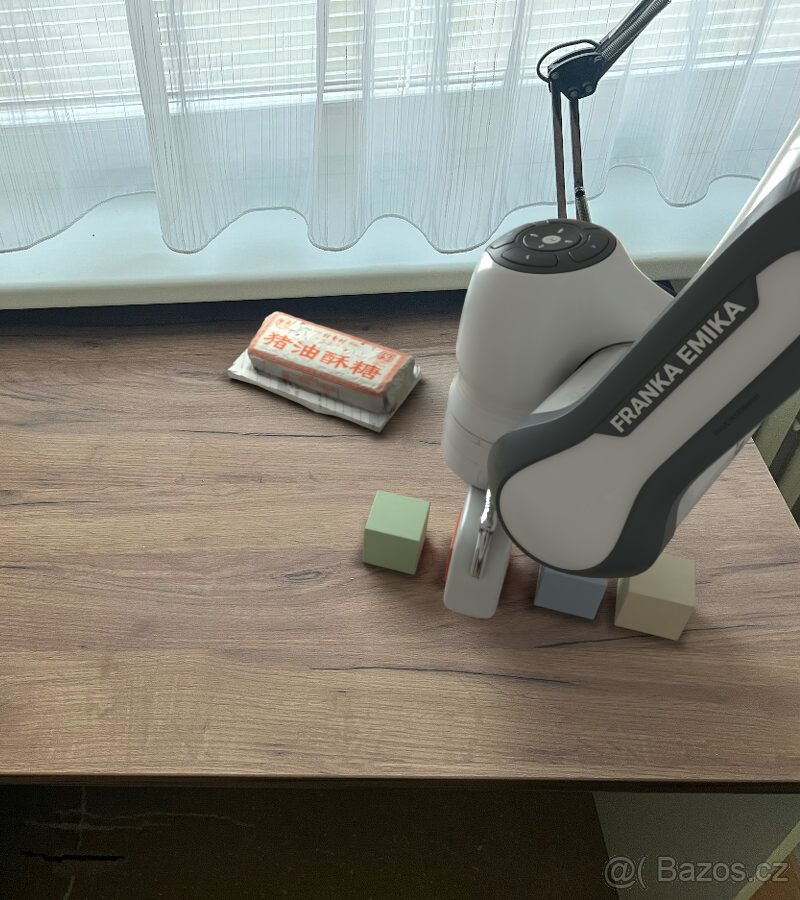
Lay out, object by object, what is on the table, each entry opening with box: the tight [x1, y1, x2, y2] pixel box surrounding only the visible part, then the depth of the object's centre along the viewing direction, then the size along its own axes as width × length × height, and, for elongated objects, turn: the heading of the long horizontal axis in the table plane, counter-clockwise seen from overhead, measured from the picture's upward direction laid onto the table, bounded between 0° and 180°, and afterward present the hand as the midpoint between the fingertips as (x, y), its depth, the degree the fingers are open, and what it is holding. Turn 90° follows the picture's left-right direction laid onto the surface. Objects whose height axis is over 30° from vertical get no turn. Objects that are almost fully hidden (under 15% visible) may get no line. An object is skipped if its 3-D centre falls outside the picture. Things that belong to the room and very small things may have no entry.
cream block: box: [613, 552, 697, 641], centre depth 67 cm, size 4×4×4 cm
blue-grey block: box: [533, 564, 609, 620], centre depth 69 cm, size 4×4×4 cm
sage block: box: [361, 489, 432, 576], centre depth 74 cm, size 4×4×4 cm
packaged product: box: [226, 311, 423, 433], centre depth 90 cm, size 18×5×10 cm
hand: (479, 555), depth 72 cm, fingers closed on coral block, 4 cm apart
